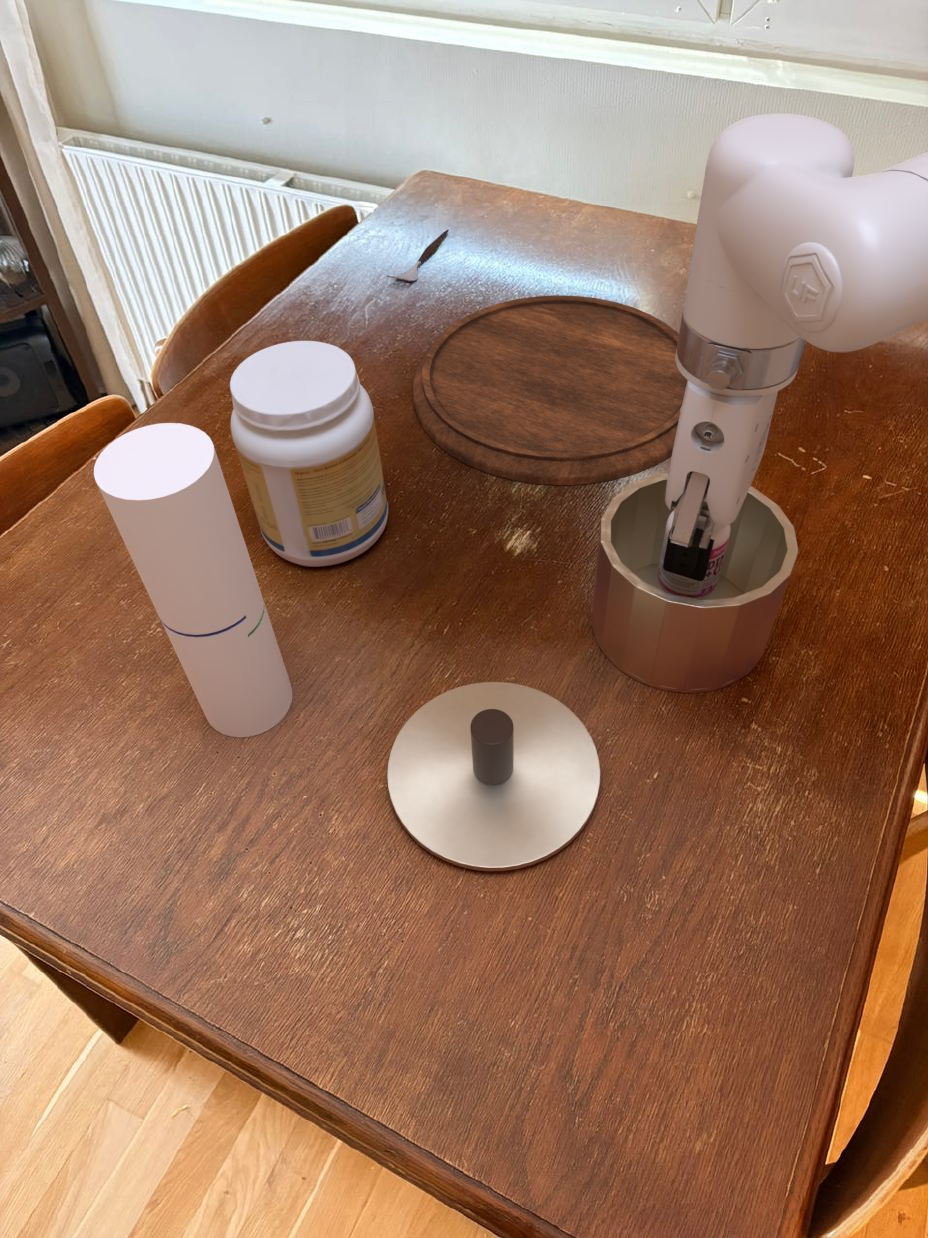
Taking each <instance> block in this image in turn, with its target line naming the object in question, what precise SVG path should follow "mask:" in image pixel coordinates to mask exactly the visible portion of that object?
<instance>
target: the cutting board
mask: <svg viewBox="0 0 928 1238" xmlns="http://www.w3.org/2000/svg"><path fill="white" fill-rule="evenodd" d="M678 337H679V332H677V330H675V329H674V328H673V327H671V326H670V325H669V324H668V323H666V322H664V321H663V320H661V319H659V318H657V317H655V315H653V314H650V313H648V312H645V311H644V310H640V309H638V308H635V307H633V306H630V305H627V304H624V303H620V302H617V301H613V300H612V301H611V300H608V299H603V298H597V297H590V296H580V295H561V294H559V295H558V294H556V295H538V296H537V295H536V296H531V297H523V298H515V299H512V300H508V301H503V302H498V303H496V304H494V305H490V306H487V307H485V308H481V309H479V310H477V311H475V312H473V313H470V314H468V315H466V316H465V317H463V318H462V319H459V320H458V321H456V322H454V323H453V324H451V326H449V327H448V328H446V330H444V331H443V332H442V333H440V335H439V336H438V337H437V338H436V340H435V341H434V342H433V343H432V344H431V346H430V348H428V350H427V351H426V353H424V355H423V356H422V359H421V360H420V362H419V364H418V366H417V368H416V371H415V374H414V378H413V382H412V401H413V407H414V411H415V414H416V417H417V420H418V421H419V423H420V425H421V427H422V429H423V430H424V432H425V433H426V434H427V435H428V437H430V440H432V441H433V442H434V444H436V446H438V447H440V448H441V449H442V450H443V451H444V452H446V453H447V455H450V456H451V457H453V458H454V459H456V460H458V461H460V462H461V463H463V464H465V465H467V466H469V467H471V468H473V469H476V470H478V471H481V472H483V473H486V474H487V475H491V476H496V477H499V478H502V479H506V480H510V481H515V482H521V483H528V484H534V485H548V486H576V485H590V484H597V483H602V482H609V481H614V480H618V479H621V478H624V477H629V476H633V475H636V474H638V473H641V472H643V471H645V470H647V469H650V468H652V467H655V466H657V465H659V464H661V463H662V462H663V461H665V460H667V459H669V458H671V457H672V451H673V446H674V441H675V436H676V431H677V426H678V422H679V417H680V409H681V407H682V403H683V398H684V394H685V389H686V385H687V379H686V378H685V377H684V376H683V375H682V374H681V372H680V371H679V370H678V367H677V365H676V360H675V357H676V351H677V344H678Z"/></svg>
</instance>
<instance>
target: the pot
mask: <svg viewBox="0 0 928 1238" xmlns="http://www.w3.org/2000/svg"><path fill="white" fill-rule="evenodd" d="M668 473H669V472H662V473H658V474H655V475H652V476H649V477H646V478H643V479H640V480H637V481H634V482H632V483H631V484H630V485H628V486H627V487H625V488H624V489H623V490H622V491H621V492H619V493H617V494H616V495H615V496H613V498H612V499H611V501H610V502H609V504H608V505H607V508H606V510H605V511H604V513H603V514H602V516H601V519H600V524H599V533H598V543H597V554H596V562H595V563H596V564H595V573H594V583H593V592H592V603H591V627H592V632H593V635H594V638H595V640H596V641H595V642H596V643H597V645H598V646H599V649H600V650H601V652H602V653H603V654H604V656H605V657H606V658H607V660H609V662H610V663H611V664H612V665H614V666H615V667H616V668H617V669H618V670H619V671H621V672H622V673H624V674H625V675H627V676H628V677H630V678H631V679H633V680H635V681H637V682H638V683H641V684H644V685H647V686H649V687H651V688H655V689H658V690H662V691H665V692H666V691H667V692H671V693H681V694H699V693H707V692H713V691H716V690H720V689H723V688H725V687H729V686H731V685H733V684H735V683H736V682H738V681H740V680H742V679H743V678H744V677H746V676H747V675H748V674H750V672H752V671H753V670H754V668H756V666H757V665H758V663H759V662H760V660H761V659H762V658H763V655H764V653H765V649H766V647H767V644H768V642H769V638H770V636H771V633H772V629H773V627H774V624H775V621H776V618H777V616H778V613H779V609H780V607H781V604H782V601H783V598H784V595H785V592H786V589H787V587H788V583H789V580H790V578H791V574H792V572H793V569H794V567H795V564H796V560H797V556H798V554H799V546H798V540H797V536H796V531H795V527H794V525H793V524H792V522H791V521H790V520H789V518H788V517H787V516H786V513H784V511H783V510H782V508H781V507H780V506H779V505H778V504H777V503H776V502H774V501H773V500H772V499H770V498H769V497H767V496H766V495H765V494H763V493H762V492H760V491H759V490H758V489H756V488H755V487H754V486H752V485H751V486H750V488H749V490H748V493H747V495H746V497H745V500H744V502H743V504H742V507H741V509H740V511H739V513H738V515H737V517H736V519H735V521H734V522H732V523H731V524H730V537H729V540H728V544H727V548H726V552H725V556H724V559H723V563H722V567H721V570H720V574H719V578H718V582H717V585H716V587H715V589H714V591H713V592H712V593H711V594H710V595H708V596H707V597H705V598H703V599H696V598H690V597H685V596H679V595H674V594H669V593H667V592H665V591H664V590H663V589H662V588H661V586H660V585H659V582H658V578H657V572H658V567H659V563H660V557H661V552H662V547H663V541H664V536H665V530H666V525H667V520H668V518H669V516H670V514H671V513H672V512H673V511H674V509H675V508H673V509H672V510H669V508H668V507H667V505H666V503H665V495H666V487H667V480H668Z"/></svg>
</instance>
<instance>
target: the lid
mask: <svg viewBox="0 0 928 1238" xmlns="http://www.w3.org/2000/svg"><path fill="white" fill-rule="evenodd" d="M386 769H387V770H386V781H387V790H388V794H389V799H390V803H391V806H392V808H393V811H394V813H395V815H396V818H397V819H398V821H399V823H400V824H401V826H402V828H403V829H404V830H405V831H406V832H407V834H408V835H409V836H410V838H412V839H413V841H415V842H416V843H417V844H418V845H419V846H420V847H421V848H423V849H424V850H425V851H427V852H428V853H430V854H431V855H432V856H434V857H437V858H439V859H440V860H442V861H444V862H446V863H449V864H451V865H454V866H457V867H460V868H465V869H468V870H473V871H483V872H505V871H506V872H507V871H512V870H519V869H522V868H526V867H530V866H533V865H536V864H538V863H540V862H543V861H546V860H548V859H549V858H551V857H552V856H554V855H557V853H559V852H561V851H562V850H563V849H564V848H566V847H567V846H569V844H571V843H572V841H574V840H575V839H576V837H578V835H580V833H581V832H582V831H583V829H584V828H585V826H586V825H587V824H588V822H589V820H590V819H591V816H592V815H593V813H594V811H595V810H594V809H595V808H596V804H597V801H598V798H599V792H600V787H601V774H602V773H601V763H600V758H599V754H598V750H597V747H596V745H595V741H594V740H593V737H592V735H591V734H590V732H589V731H588V728H587V727H586V725H585V724H584V723H583V722H582V720H581V718H579V717H578V716H577V715H576V713H574V712H573V711H572V710H571V709H570V708H569V707H568V706H566V705H565V704H564V703H562V702H561V701H560V700H558V699H556V698H555V697H554V696H551V695H550V694H548V693H546V692H544V691H541V690H539V689H537V688H534V687H530V686H527V685H524V684H520V683H514V682H506V681H505V682H504V681H482V682H474V683H470V684H464V685H461V686H457V687H455V688H452V689H450V690H446V691H444V692H442V693H440V694H438V695H437V696H435V697H433V698H431V699H430V700H429V701H427V702H425V703H424V704H423V705H421V706H420V707H419V708H418V709H417V710H415V712H414V713H413V714H412V715H411V716H410V717H409V718H408V719H407V720H406V721H405V723H404V724H403V726H402V727H401V729H400V730H399V732H398V733H397V735H396V737H395V740H394V741H393V744H392V747H391V749H390V752H389V756H388V761H387V768H386Z"/></svg>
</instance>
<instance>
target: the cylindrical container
mask: <svg viewBox="0 0 928 1238" xmlns="http://www.w3.org/2000/svg"><path fill="white" fill-rule="evenodd" d="M93 478H94V480H95V483H96V485H97V488H98V489H99V491H100V494H101V496H102V498H103V500H104V503H105V504H106V507H107V509H108V511H109V513H110V515H111V518H112V519H113V523H114V524H115V526H116V528H117V531H118V533H119V535H120V536H121V539H122V541H123V543H124V545H125V548H126V549H127V552H128V554H129V556H130V558H131V560H132V563H133V565H134V567H135V569H136V571H137V573H138V575H139V577H140V579H141V581H142V583H143V586H144V589H145V590H146V593H147V594H148V597H149V599H150V601H151V603H152V605H153V607H154V610H155V611H156V614H157V616H158V619H159V620H160V622H161V624H162V627H163V629H164V630H165V633H166V635H167V637H168V639H169V641H170V644H171V645H172V646H171V647H172V648H173V650H174V653H175V654H176V656H177V659H178V661H179V663H180V665H181V667H182V669H183V672H184V674H185V676H186V678H187V680H188V683H189V685H190V687H191V689H192V691H193V693H194V695H195V697H196V699H197V701H198V704H199V706H200V708H201V710H202V712H203V714H204V717H205V718H206V721H207V722H208V724H209V725H210V727H211V728H213V729H214V730H215V731H217V732H218V733H220V734H221V735H223V736H227V737H231V738H250V737H254V736H258V735H261V734H263V733H265V732H267V731H269V730H271V729H273V728H274V727H276V726H277V725H278V724H279V723H280V722H281V721H282V720H283V719H284V718H285V717H286V715H287V714H288V712H289V710H290V708H291V706H292V702H293V695H294V694H293V688H292V687H293V686H292V684H291V681H290V678H289V674H288V671H287V668H286V665H285V663H284V660H283V655H282V653H281V649H280V647H279V644H278V640H277V637H276V635H275V634H276V633H275V631H274V629H273V625H272V622H271V619H270V616H269V613H268V609H267V607H266V604H265V600H264V597H263V594H262V590H261V588H260V585H259V582H258V578H257V576H256V572H255V569H254V567H253V563H252V561H251V556H250V554H249V551H248V547H247V544H246V541H245V538H244V535H243V532H242V530H241V526H240V523H239V520H238V516H237V514H236V511H235V507H234V504H233V501H232V498H231V495H230V492H229V488H228V485H227V483H226V479H225V476H224V474H223V470H222V467H221V464H220V461H219V458H218V454H217V452H216V449H215V445H214V443H213V441H212V439H211V437H210V436H209V435H208V434H207V433H206V432H205V431H203V430H201V429H200V428H199V427H196V426H193V425H190V424H185V423H180V422H179V423H178V422H162V423H155V424H150V425H149V424H148V425H145V426H141V427H138V428H135V429H133V430H131V431H128V432H126V433H124V434H123V435H120V436H119V437H117V438H115V439H114V440H113V441H111V442H110V443H109V444H108V445H107V446H105V448H104V449H103V450H102V451H101V452H100V454H99V455H98V457H97V459H96V460H95V463H94V467H93Z"/></svg>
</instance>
